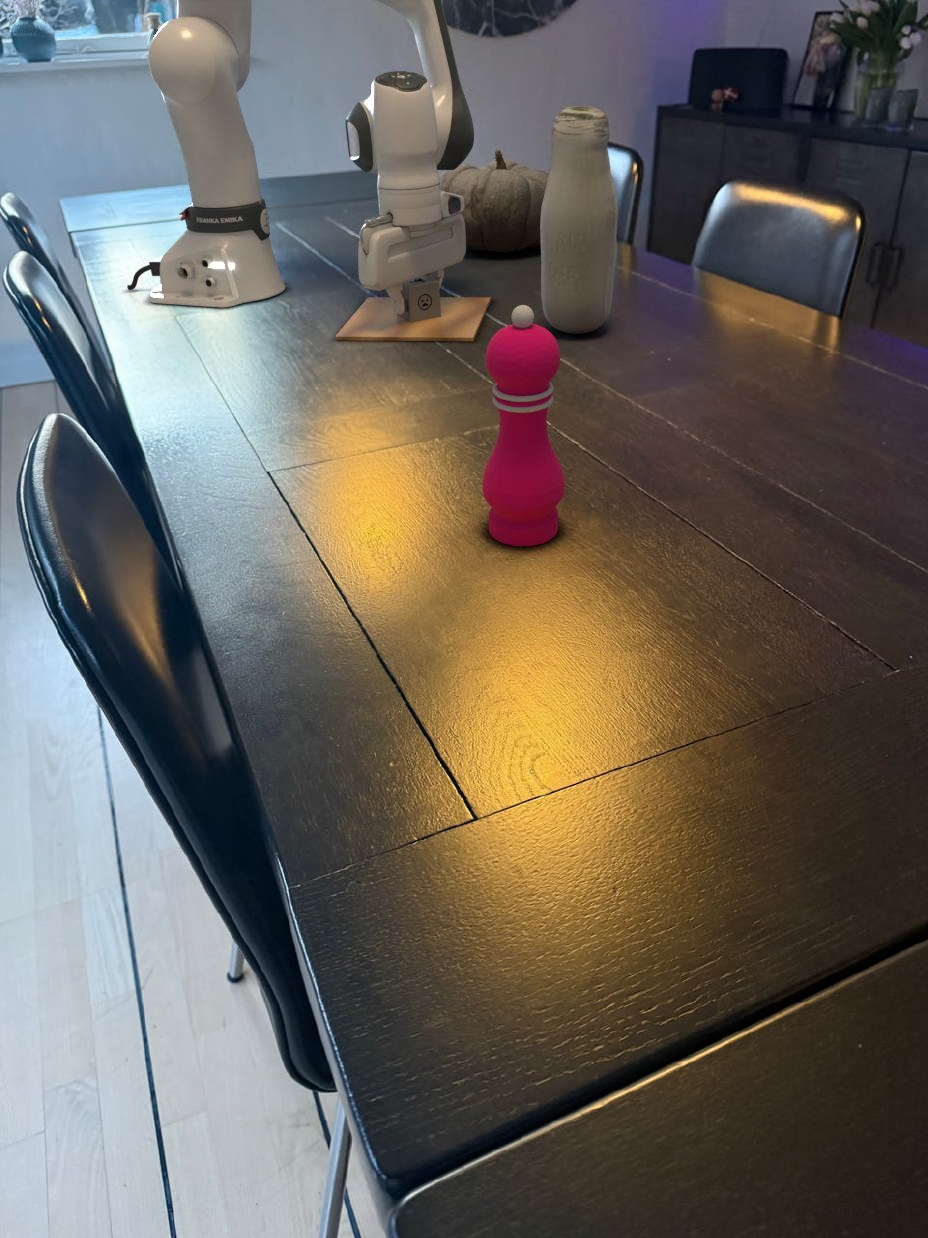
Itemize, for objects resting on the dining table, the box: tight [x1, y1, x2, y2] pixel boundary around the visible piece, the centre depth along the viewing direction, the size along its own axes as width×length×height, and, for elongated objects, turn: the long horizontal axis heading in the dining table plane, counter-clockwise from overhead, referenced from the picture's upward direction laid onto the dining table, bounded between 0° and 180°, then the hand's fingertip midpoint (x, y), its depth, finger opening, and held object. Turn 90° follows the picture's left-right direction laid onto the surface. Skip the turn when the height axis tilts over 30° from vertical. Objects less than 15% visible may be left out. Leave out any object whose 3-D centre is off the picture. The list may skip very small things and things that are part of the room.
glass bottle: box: [540, 105, 619, 335], centre depth 120 cm, size 10×10×28 cm
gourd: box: [438, 149, 550, 254], centre depth 168 cm, size 25×25×17 cm
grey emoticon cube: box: [397, 275, 441, 322], centre depth 134 cm, size 5×5×5 cm
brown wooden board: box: [335, 296, 492, 342], centre depth 135 cm, size 20×20×1 cm
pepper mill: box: [481, 304, 565, 547], centre depth 76 cm, size 7×7×20 cm
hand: (417, 306), depth 134 cm, fingers open, 6 cm apart
